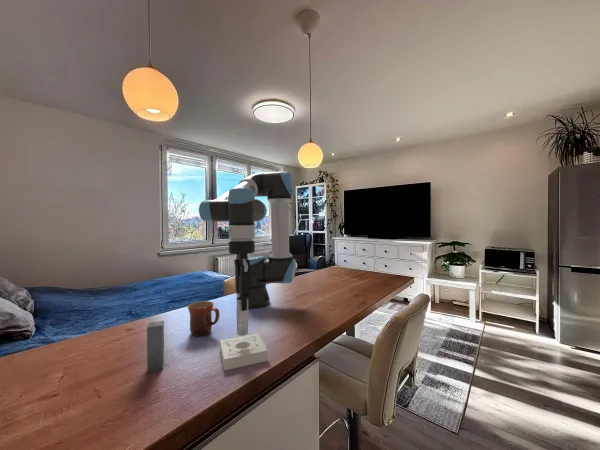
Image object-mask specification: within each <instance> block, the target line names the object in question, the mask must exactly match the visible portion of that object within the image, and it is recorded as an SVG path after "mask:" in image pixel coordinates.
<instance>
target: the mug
mask: <svg viewBox="0 0 600 450" xmlns="http://www.w3.org/2000/svg"><path fill="white" fill-rule="evenodd" d="M214 304H215V303H214V302H213V301H206V300H204V301H203V300H202V301H195V302H192V303H190V304H188V305H187V309H188V312H189V332H190V335H192V336H194V337H204V336H206V335H208V334H210V332H212V328H213V326H214V325H216V324H217V323H218V321H219V320H220V310H219V308H217V307H214ZM212 311H214V313H215V318H214V321H213V316H212Z"/></svg>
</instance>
